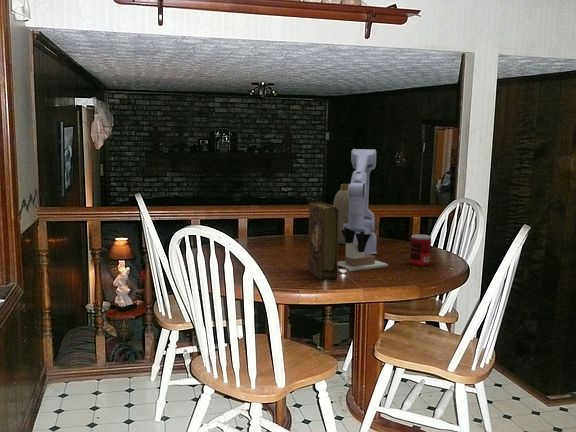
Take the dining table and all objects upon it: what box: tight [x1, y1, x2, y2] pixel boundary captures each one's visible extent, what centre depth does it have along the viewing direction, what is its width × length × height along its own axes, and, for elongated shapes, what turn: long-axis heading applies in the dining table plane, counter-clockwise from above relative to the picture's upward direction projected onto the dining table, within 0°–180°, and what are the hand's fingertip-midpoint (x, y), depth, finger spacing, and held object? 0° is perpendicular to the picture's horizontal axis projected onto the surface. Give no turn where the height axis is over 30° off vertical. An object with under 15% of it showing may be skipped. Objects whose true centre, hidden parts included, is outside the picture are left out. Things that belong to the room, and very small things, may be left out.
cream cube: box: [345, 242, 364, 259], centre depth 208 cm, size 5×5×5 cm
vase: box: [332, 183, 370, 245], centre depth 256 cm, size 17×17×27 cm
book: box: [307, 201, 339, 281], centre depth 194 cm, size 16×6×25 cm, turn 17°
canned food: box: [409, 234, 432, 267], centre depth 215 cm, size 8×8×11 cm
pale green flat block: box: [338, 254, 389, 272], centre depth 211 cm, size 18×12×4 cm, turn 119°
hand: (355, 250), depth 208 cm, fingers open, 7 cm apart
